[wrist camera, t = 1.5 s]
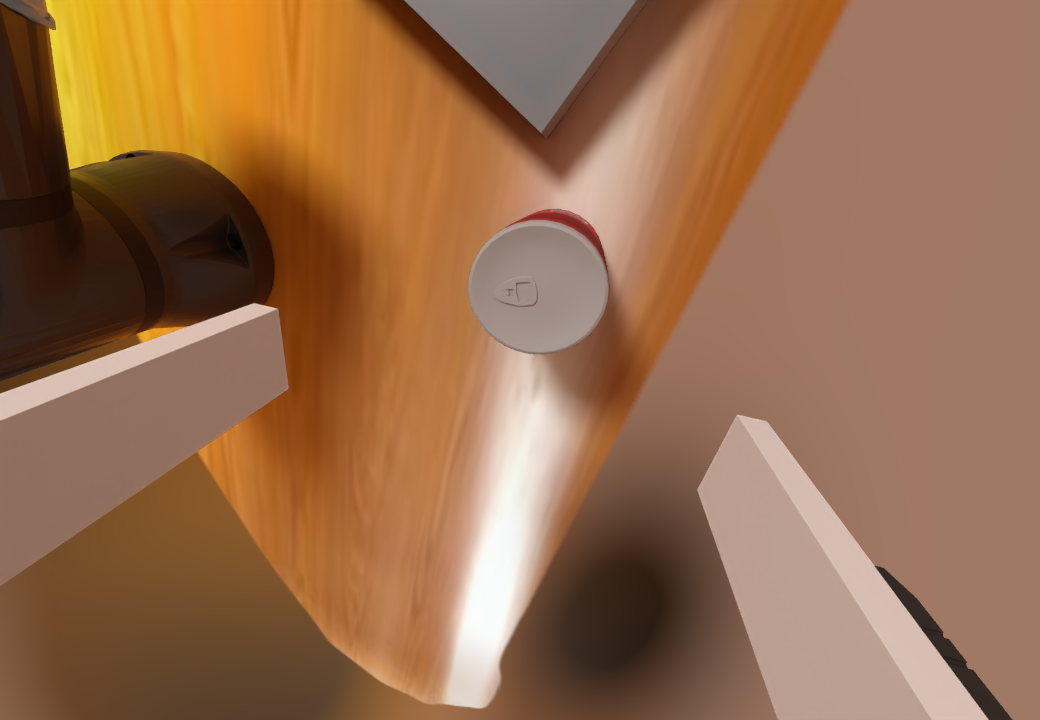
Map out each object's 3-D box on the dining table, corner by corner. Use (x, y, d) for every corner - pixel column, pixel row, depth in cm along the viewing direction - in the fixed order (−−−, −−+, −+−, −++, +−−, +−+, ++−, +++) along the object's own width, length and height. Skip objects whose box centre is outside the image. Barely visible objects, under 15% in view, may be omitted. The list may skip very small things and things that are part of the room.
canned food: (491, 230, 30) (444, 253, 21) (585, 190, 28) (584, 194, 18) (525, 315, 33) (498, 371, 23) (614, 285, 31) (626, 333, 21)
